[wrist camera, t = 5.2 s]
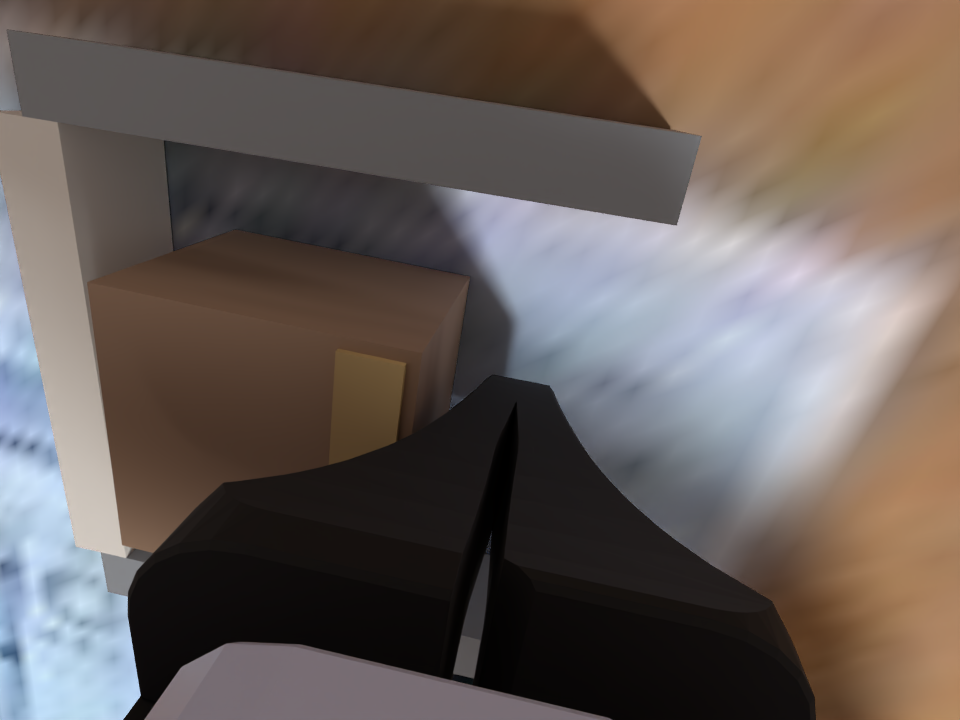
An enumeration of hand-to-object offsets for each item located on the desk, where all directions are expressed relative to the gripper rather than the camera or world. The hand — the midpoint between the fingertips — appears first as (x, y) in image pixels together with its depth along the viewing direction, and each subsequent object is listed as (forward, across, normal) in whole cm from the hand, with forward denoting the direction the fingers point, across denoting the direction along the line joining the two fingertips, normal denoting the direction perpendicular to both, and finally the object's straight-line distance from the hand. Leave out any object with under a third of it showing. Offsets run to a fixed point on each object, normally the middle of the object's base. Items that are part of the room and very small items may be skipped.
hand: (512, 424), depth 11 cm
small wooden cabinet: (+1, +4, 0) cm, 4 cm away
